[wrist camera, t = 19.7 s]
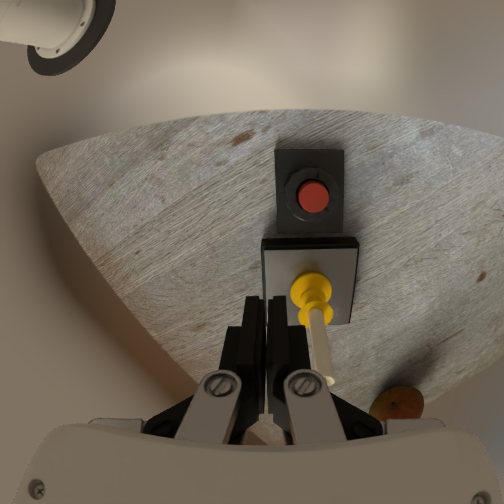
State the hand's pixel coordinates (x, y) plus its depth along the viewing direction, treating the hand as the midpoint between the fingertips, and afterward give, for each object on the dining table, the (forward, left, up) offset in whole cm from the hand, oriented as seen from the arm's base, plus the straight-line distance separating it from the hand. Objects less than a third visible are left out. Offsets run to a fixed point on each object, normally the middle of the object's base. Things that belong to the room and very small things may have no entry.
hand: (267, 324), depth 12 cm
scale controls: (-1, +4, -24) cm, 24 cm away
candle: (+11, +4, -21) cm, 24 cm away
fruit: (+39, +23, -24) cm, 52 cm away
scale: (+11, +4, -24) cm, 27 cm away
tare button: (-1, +4, -21) cm, 22 cm away
